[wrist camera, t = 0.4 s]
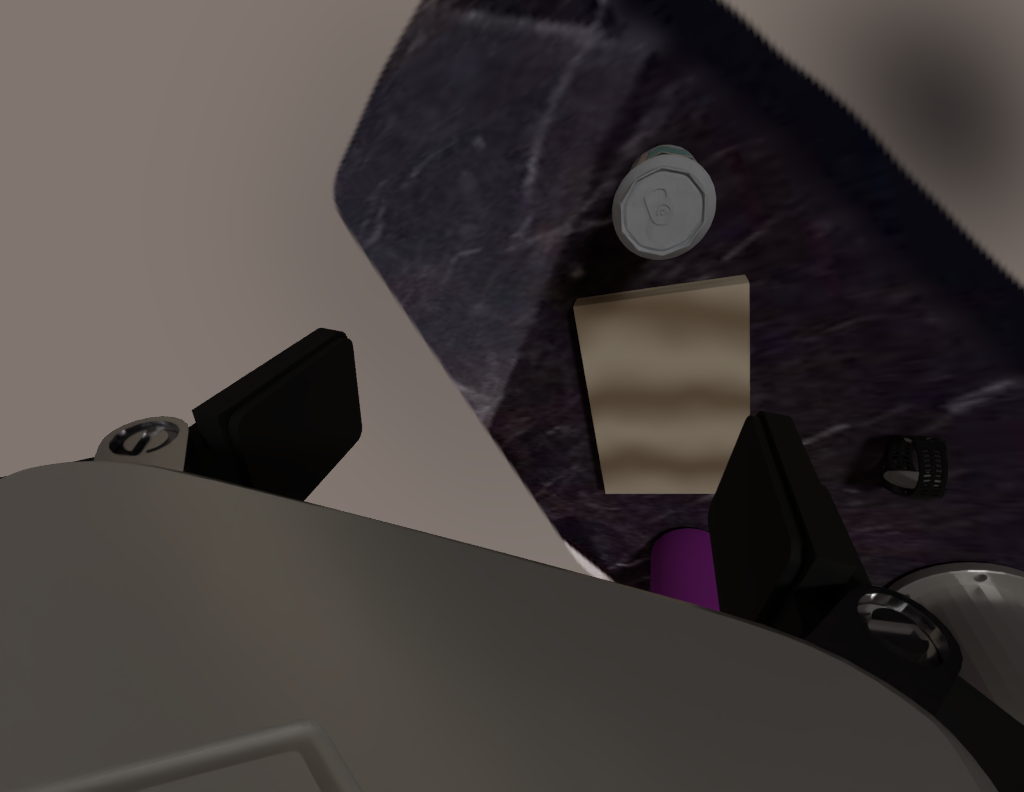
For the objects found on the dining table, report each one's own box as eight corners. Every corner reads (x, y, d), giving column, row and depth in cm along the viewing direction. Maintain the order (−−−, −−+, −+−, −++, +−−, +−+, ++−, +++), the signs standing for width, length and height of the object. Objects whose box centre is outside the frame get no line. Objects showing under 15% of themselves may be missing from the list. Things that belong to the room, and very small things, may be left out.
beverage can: (645, 523, 47) (640, 632, 37) (730, 520, 44) (750, 638, 34) (657, 578, 50) (655, 693, 40) (737, 579, 47) (757, 703, 37)
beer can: (640, 232, 34) (631, 279, 24) (615, 166, 32) (594, 187, 22) (709, 202, 32) (731, 239, 22) (687, 129, 30) (699, 134, 20)
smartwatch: (857, 460, 38) (881, 502, 34) (899, 409, 35) (931, 448, 31) (910, 478, 38) (941, 523, 33) (957, 427, 35) (998, 469, 31)
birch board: (746, 478, 41) (750, 493, 40) (607, 479, 45) (605, 493, 44) (744, 274, 33) (749, 282, 32) (577, 298, 38) (573, 306, 36)
